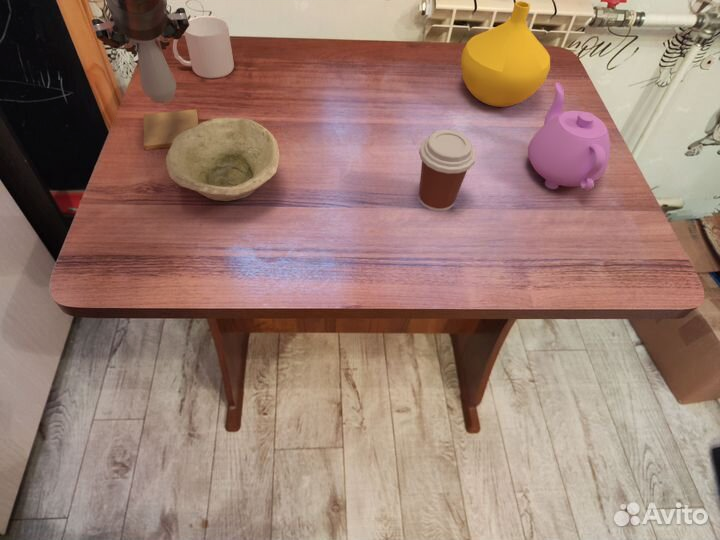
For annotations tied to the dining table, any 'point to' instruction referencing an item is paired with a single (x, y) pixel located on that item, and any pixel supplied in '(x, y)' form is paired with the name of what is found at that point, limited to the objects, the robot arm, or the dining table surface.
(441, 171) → the coffee cup
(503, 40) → the vase
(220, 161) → the bowl
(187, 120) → the wooden square board
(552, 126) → the teapot
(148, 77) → the salt shaker
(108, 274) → the dining table surface
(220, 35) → the mug
